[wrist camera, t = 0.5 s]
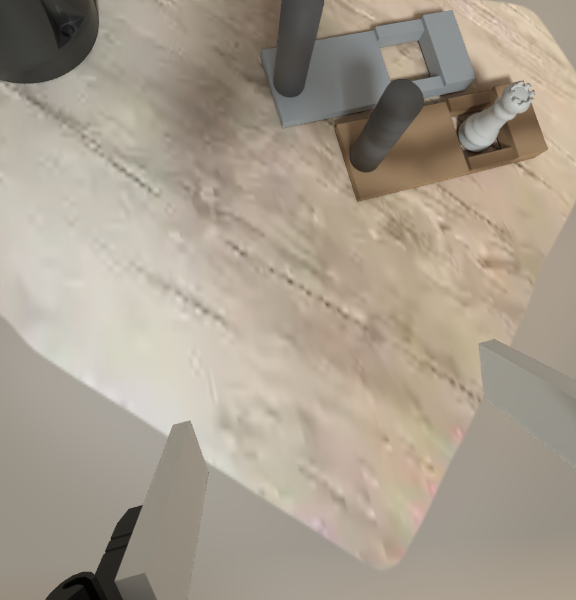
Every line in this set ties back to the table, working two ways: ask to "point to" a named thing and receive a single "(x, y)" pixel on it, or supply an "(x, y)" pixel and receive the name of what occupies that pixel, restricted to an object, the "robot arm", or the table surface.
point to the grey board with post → (354, 63)
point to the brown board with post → (426, 141)
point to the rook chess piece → (494, 117)
